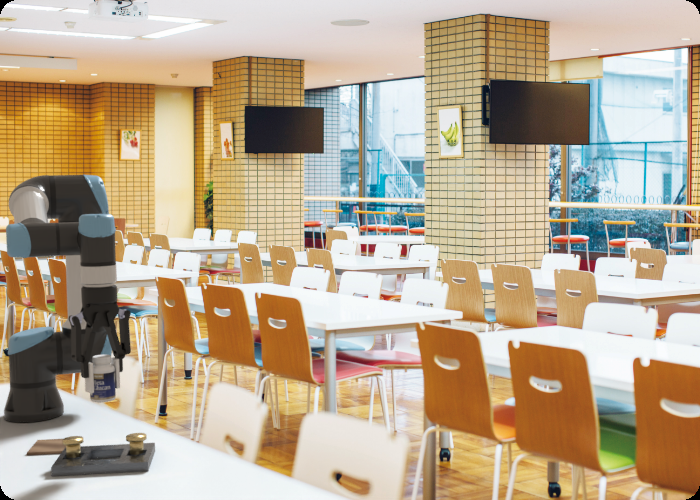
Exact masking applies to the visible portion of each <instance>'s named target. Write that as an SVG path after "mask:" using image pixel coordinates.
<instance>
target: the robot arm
mask: <svg viewBox="0 0 700 500" xmlns="http://www.w3.org/2000/svg"><path fill="white" fill-rule="evenodd" d="M8 209H9V211H10V215H12V216H13V220H14V221H13V222H14V223H10V224H8V225H6V228H5V235H6V237H5V239H6V254H7V255H8V257H10V258H22V259H26V258H27V259H28V258H40V257H41V258H43V257H44V258H45V257H60V256H61V257H64V256H65V276H66V277H65V278H66V279H65V280H66V281H65V282H66V303H67V304H66V307H67V318H66V320H65V321H64V322H63V323H62V325H61V328H62V330H61V331H55V329H54V327H52V326H41V327H34V328H30V329H25V330H21V331H19V332H16V333H14V334H12V335H11V336H10V337H9V338H8V344H7V345H8V346H7V347H8V348H7V350H8V351H7V355H8V369H9V371H8V373H9V392H8V395H7V398H6V402H5V405H4V406H5V407H4V410H3V415H4V416H3V417H4V420H6V421H7V422H11V423H33V422H34V423H35V422H42V421H47V420H51V419H55V418H58V417H60V416H62V415H63V414H65V407H64V402H63V399H62V396H61V394H60V392H59V389H58V387H57V379H56V377H57V376H58V375H59V376H60V375H72V374H80V376H81V378H83V379H84V387H85V388H84V391H85V392H86V393H89V394H90V393H94V376H93V365H94V364H93V362H92V357H93V356H95V355H111V356H112V354H113V357H111V363H110V364H111V365H113V366H114V367H115V389H121V375H120V374H121V373H122V372H123V371H124V363H123V362H124V361H123V359H125V358H126V356H127V355H130V353H131V333H130V318H131V313H132V312H131V310H129V309H125V308H124V309H121V308H120V307H119V305H118V286H117V285H116V284H115V283H117V282H118V277H117V260H116V257H117V256H116V231H117V229H116V226H115V224H116V223H115V217H114V215H113V214H111V213H109V212H110V211H109V202H108V195H107V191H106V187H105V184H104V180H103V178H102V177H100V176H98V175H95V174H94V175H93V174H64V175H63V174H62V175H61V174H59V175H58V174H57V175H48V174H47V175H45V174H44V175H43V174H41V175H38V176H33V177H31V178H28V179H27V180H25V181H23V182H20V183H19V184H18V185H17V186H16V187H15V188H14V189H13V190H12V191H11V193H10V195H9V197H8ZM49 220H57V222H49ZM116 317H117V318H118V329H119V336H118V333H117V327H116V322H115V319H116Z"/></svg>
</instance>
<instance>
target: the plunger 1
mask: <svg viewBox="0 0 700 500" xmlns="http://www.w3.org/2000/svg"><path fill="white" fill-rule="evenodd" d="M62 439H63V440H62V444H63V445H66V457H67V458H76V457H79V456H81V449H80V446H81V444H83V443H84V441H85V440H84V436H81V435H71V436H67V437H63V438H62Z"/></svg>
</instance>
